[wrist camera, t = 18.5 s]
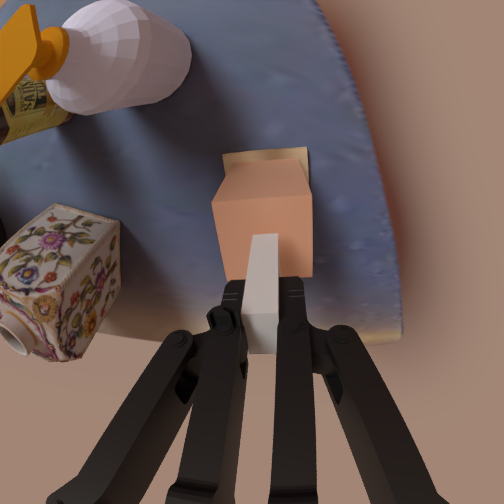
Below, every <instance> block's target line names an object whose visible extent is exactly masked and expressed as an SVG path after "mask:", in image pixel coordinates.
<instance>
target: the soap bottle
mask: <svg viewBox="0 0 504 504" xmlns="http://www.w3.org/2000/svg"><path fill="white" fill-rule="evenodd" d="M191 58H192V53H191V47H190V42H189V40H188V39H187V37H186V36H185V34H184V33H183V32H182V30H180V29H179V28H177V27H175V26H174V25H172V24H170V23H169V22H167V21H165V20H164V19H162V18H160V17H158V16H157V15H155V14H153V13H151V12H149V11H147V10H146V9H144V8H142V7H140V6H138V5H136V4H134V3H131V2H129V1H127V0H102V1H97V2H95V3H92V4H90V5H88V6H85V7H83V8H81V9H80V10H78V11H77V12H76V13H75V14H74V15H72V16H71V17H70V18H69V19H68V20H66V22H65V23H64V24H63V26H62V27H50V28H46V29H45V30H43V31H42V32H41V33H40V30H39V25H38V20H37V15H36V9H35V6H34V5H31V4H25V5H23V6H21V7H20V8H19V9H18V10H17V12H16V13H15V14H14V15H13V16H12V17H11V19H10V20H9V21H8V22H7V23H6V25H5V26H4V27H3V28H2V30H1V31H0V107H1V106H2V104H3V103H4V102H5V100H6V99H7V98H8V96H9V95H10V94H11V92H12V91H13V90H14V89H15V88H16V86H17V85H18V84H19V83H20V82H21V80H22V79H23V78H24V77H25V76H26V75H27V74H28V75H29V77H30V78H31V79H32V80H34V81H39V80H46V86H47V89H48V91H49V93H50V95H51V97H52V99H53V101H54V102H55V103H57V104H58V105H59V106H60V107H62V108H63V109H64V110H66V111H69V112H71V113H76V114H81V115H86V116H88V115H92V114H96V113H101V112H105V111H110V110H115V109H120V108H126V107H132V106H138V105H145V104H152V103H156V102H158V101H160V100H162V99H164V98H166V97H168V96H170V95H171V94H172V93H173V92H174V91H175V90H176V89H177V88H178V87H179V86H180V85H181V84H182V82H183V81H184V79H185V77H186V75H187V74H188V72H189V69H190V63H191Z"/></svg>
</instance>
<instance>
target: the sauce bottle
mask: <svg viewBox="0 0 504 504" xmlns="http://www.w3.org/2000/svg"><path fill="white" fill-rule="evenodd" d="M74 114H75V113H71V112H69V111H66V110H64V109H63V108H62V107H60V106H59V105H58V104H57V103H55V102H54V101H53V99H52V97H51V95H50V93H49V91H48V89H47V86H46V80H39V81H34V80H32V79H31V78H24V79H22V80H21V82H20V83H19V84H18V85H17V86H16V88H15V89H14V90H13V91H12V92H11V94H10V95H9V96H8V98H7V99H6V100H5V102H4V103H3V104H2V106H1V107H0V145H3V144H5V143H8V142H11V141H13V140H16V139H19V138H22V137H25V136H28V135H31V134H34V133H37V132H40V131H43V130H47V129H50V128H54V127H56V126H58V125H61V124H64V123H66V122H67V121H69V120H70V119H71V118H72V117H73V115H74Z"/></svg>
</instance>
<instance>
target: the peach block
mask: <svg viewBox="0 0 504 504" xmlns="http://www.w3.org/2000/svg"><path fill="white" fill-rule="evenodd" d="M211 204H212V209H213V214H214V220H215V225H216V230H217V235H218V240H219V245H220V250H221V254H222V259H223V264H224V269H225V274H226V278H227V281H230V280H241V279H246V276H247V269H248V263H249V256H250V249H251V243H252V236H253V235H257V234H273V233H278V241H279V255H280V269H281V277H290V276H299V278H303V277H312V272H313V219H312V194H311V191H310V188H309V186H308V183H307V180H306V178H305V175H304V172H303V170H302V167H301V165H300V162H299V160H298V158H294V159H278V160H265V161H254V162H243V163H234V164H232V166H231V168H230V169H229V171H228V173H227V175H226V177H225V178H224V180H223V182H222V184H221V186H220V187H219V189H218V191H217V193H216V195H215V197H214V198H213V200H212V202H211Z"/></svg>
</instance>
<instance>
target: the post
mask: <svg viewBox="0 0 504 504" xmlns="http://www.w3.org/2000/svg"><path fill="white" fill-rule="evenodd" d="M222 156H223V163H224V169H225V176H226V175H227V173H228V171H229V169H230V168H231V166H232V164H234V163H243V162H254V161H265V160H278V159H294V158H298V160H299V162H300V165H301V167H302V170H303V172H304V175H305V178H306V180H307V183H308V186H309V176H308V157H307V147H293V148H278V149H265V150H254V151H244V152H234V153H226V154H223V155H222Z"/></svg>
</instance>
